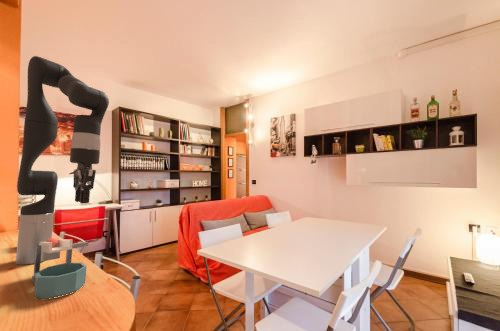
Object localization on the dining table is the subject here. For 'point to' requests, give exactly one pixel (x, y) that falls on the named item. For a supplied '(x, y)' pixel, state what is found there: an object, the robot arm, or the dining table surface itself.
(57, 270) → the teal octagonal bowl
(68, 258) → the lever stand
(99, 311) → the dining table surface
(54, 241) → the ball
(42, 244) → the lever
